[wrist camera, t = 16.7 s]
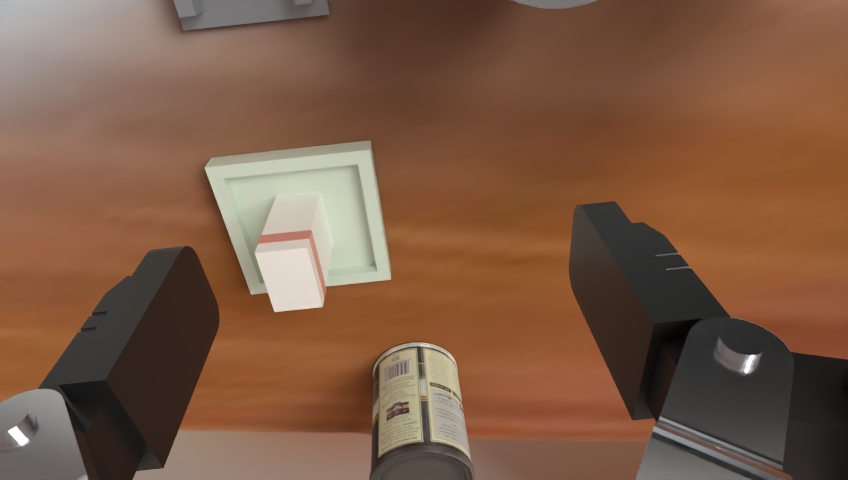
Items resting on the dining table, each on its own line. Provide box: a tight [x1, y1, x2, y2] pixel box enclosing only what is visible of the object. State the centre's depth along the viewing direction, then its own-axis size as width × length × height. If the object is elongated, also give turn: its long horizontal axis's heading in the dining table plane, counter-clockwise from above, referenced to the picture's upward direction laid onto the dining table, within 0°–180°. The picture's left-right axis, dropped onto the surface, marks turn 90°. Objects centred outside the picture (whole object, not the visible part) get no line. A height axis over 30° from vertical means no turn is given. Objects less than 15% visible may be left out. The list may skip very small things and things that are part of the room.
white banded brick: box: [255, 191, 333, 312], centre depth 44 cm, size 4×6×9 cm
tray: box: [205, 140, 391, 294], centre depth 48 cm, size 14×14×2 cm
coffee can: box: [369, 342, 475, 480], centre depth 56 cm, size 10×10×14 cm
